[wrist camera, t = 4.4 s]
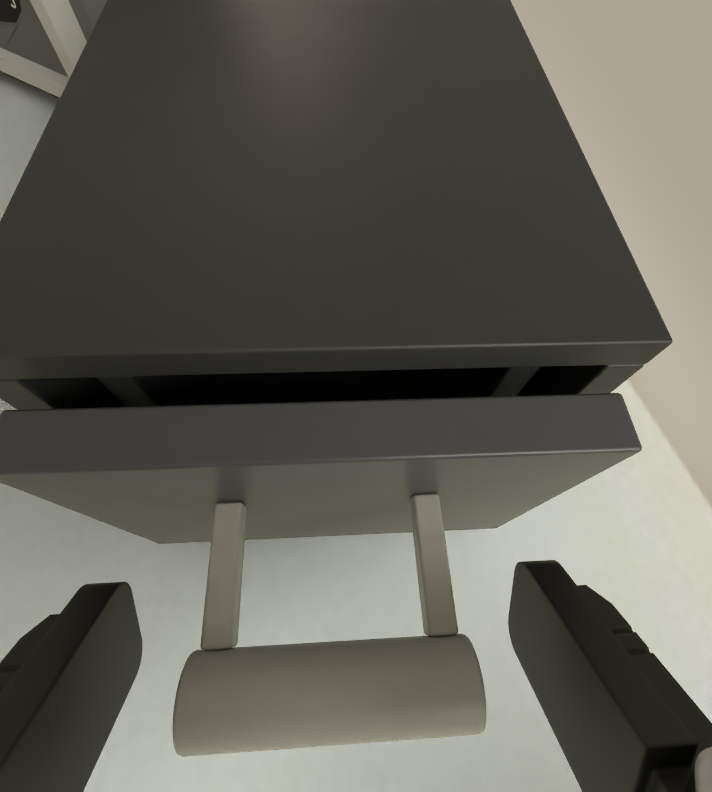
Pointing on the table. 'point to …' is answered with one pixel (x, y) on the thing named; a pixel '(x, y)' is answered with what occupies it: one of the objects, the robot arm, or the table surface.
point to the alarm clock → (45, 39)
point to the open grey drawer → (318, 520)
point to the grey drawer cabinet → (312, 206)
